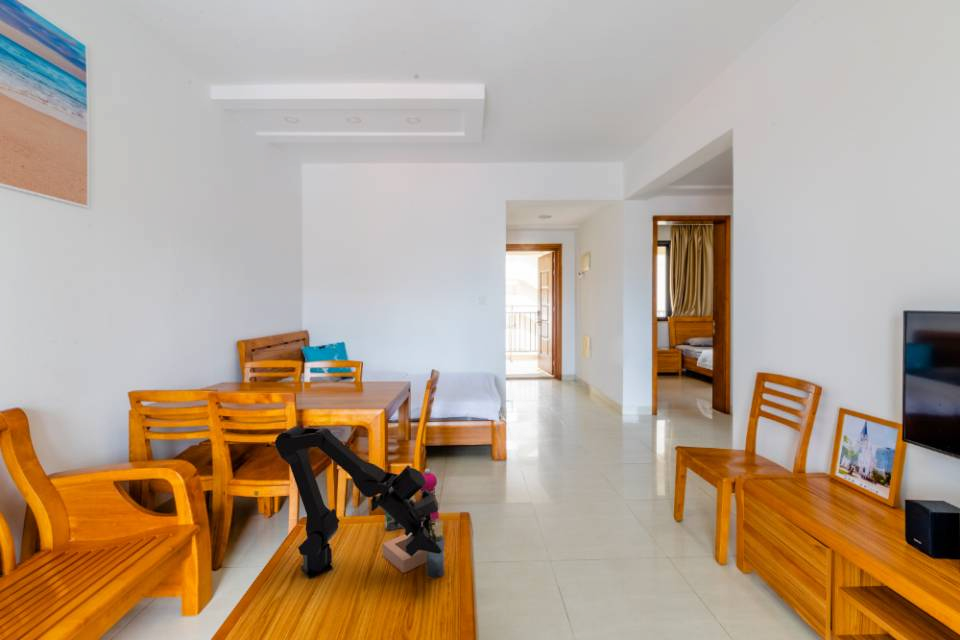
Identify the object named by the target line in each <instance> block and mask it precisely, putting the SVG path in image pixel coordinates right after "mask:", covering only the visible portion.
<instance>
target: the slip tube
mask: <svg viewBox="0 0 960 640" xmlns="http://www.w3.org/2000/svg"><path fill="white" fill-rule="evenodd" d="M429 528H430V536H431V537H432V538H433V540H434V541H435V542H436V543H437V545H438V546H439V547H440V548H441V550H442V552H441V553H440V554H437V553H433V552H428V551H427V562H426V576H427V577H428V578H431V579H438V578H441V577H443V576H444V573H445V538H444V536H443V521H442V519H440V518H439V519H432V520H430V521H429Z"/></svg>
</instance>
